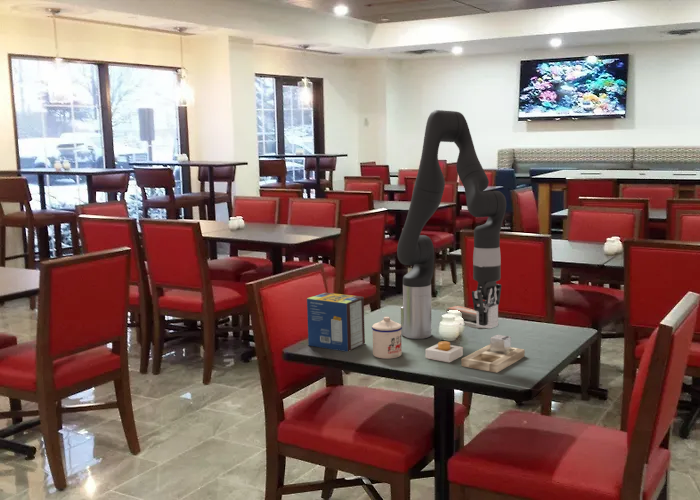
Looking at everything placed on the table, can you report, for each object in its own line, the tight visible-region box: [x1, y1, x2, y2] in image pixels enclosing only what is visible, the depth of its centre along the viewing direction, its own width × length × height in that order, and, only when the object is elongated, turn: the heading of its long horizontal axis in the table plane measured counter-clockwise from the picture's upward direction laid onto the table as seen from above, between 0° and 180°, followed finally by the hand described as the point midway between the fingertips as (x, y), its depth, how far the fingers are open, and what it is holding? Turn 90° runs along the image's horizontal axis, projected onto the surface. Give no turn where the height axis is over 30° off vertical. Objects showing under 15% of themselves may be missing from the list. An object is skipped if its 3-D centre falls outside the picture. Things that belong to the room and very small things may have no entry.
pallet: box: [460, 344, 526, 373], centre depth 207 cm, size 11×18×2 cm, turn 143°
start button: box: [437, 340, 451, 351], centre depth 212 cm, size 4×4×2 cm
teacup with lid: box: [371, 316, 403, 360], centre depth 218 cm, size 12×9×12 cm
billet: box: [490, 334, 512, 355], centre depth 210 cm, size 4×4×6 cm
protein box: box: [306, 292, 366, 353], centre depth 229 cm, size 10×15×16 cm
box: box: [424, 343, 464, 363], centre depth 212 cm, size 8×8×3 cm
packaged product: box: [445, 305, 484, 330], centre depth 255 cm, size 18×5×10 cm
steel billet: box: [476, 304, 499, 329], centre depth 202 cm, size 4×4×6 cm
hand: (487, 322), depth 202 cm, fingers closed on steel billet, 4 cm apart
